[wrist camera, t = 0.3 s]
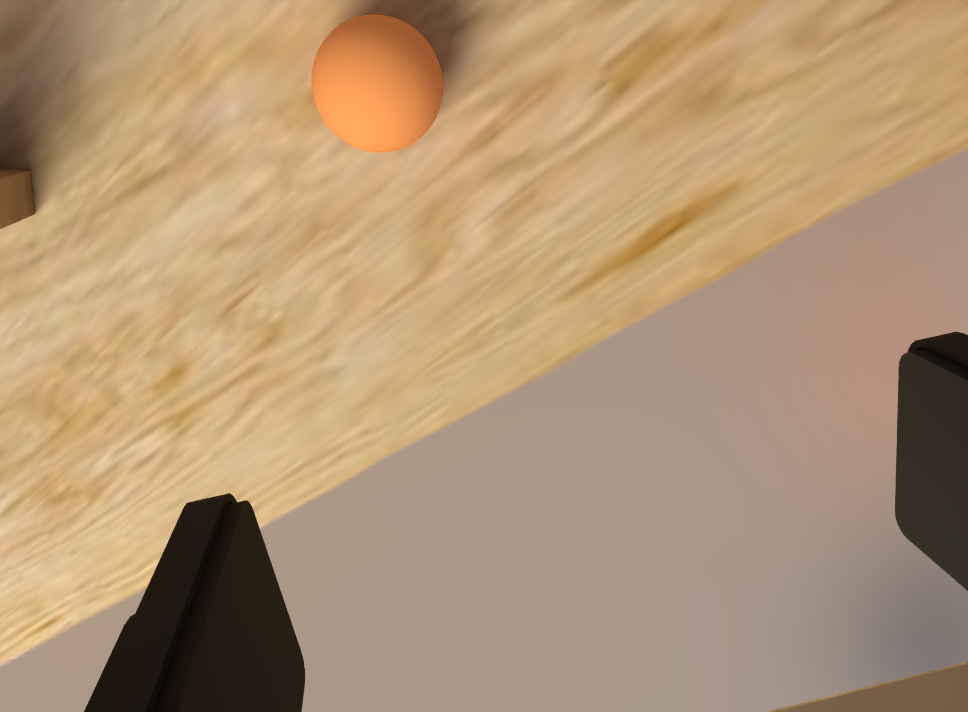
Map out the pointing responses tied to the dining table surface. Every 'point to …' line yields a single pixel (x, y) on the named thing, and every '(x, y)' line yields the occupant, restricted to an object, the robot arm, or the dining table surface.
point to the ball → (377, 83)
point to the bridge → (15, 196)
